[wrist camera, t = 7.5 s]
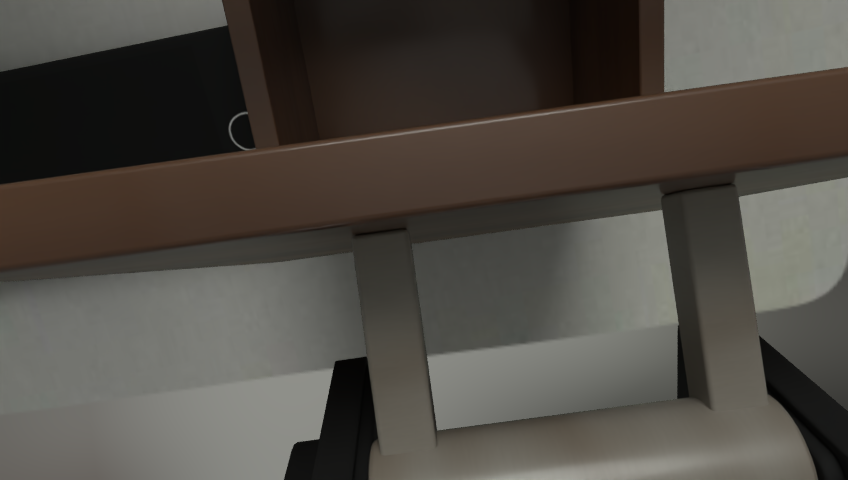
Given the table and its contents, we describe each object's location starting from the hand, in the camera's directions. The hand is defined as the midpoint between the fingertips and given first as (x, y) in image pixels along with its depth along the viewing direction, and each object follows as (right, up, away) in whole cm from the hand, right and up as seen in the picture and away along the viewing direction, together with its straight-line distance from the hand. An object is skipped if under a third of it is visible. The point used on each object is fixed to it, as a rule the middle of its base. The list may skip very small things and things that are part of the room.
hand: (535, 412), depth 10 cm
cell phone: (-17, +7, +17) cm, 25 cm away
